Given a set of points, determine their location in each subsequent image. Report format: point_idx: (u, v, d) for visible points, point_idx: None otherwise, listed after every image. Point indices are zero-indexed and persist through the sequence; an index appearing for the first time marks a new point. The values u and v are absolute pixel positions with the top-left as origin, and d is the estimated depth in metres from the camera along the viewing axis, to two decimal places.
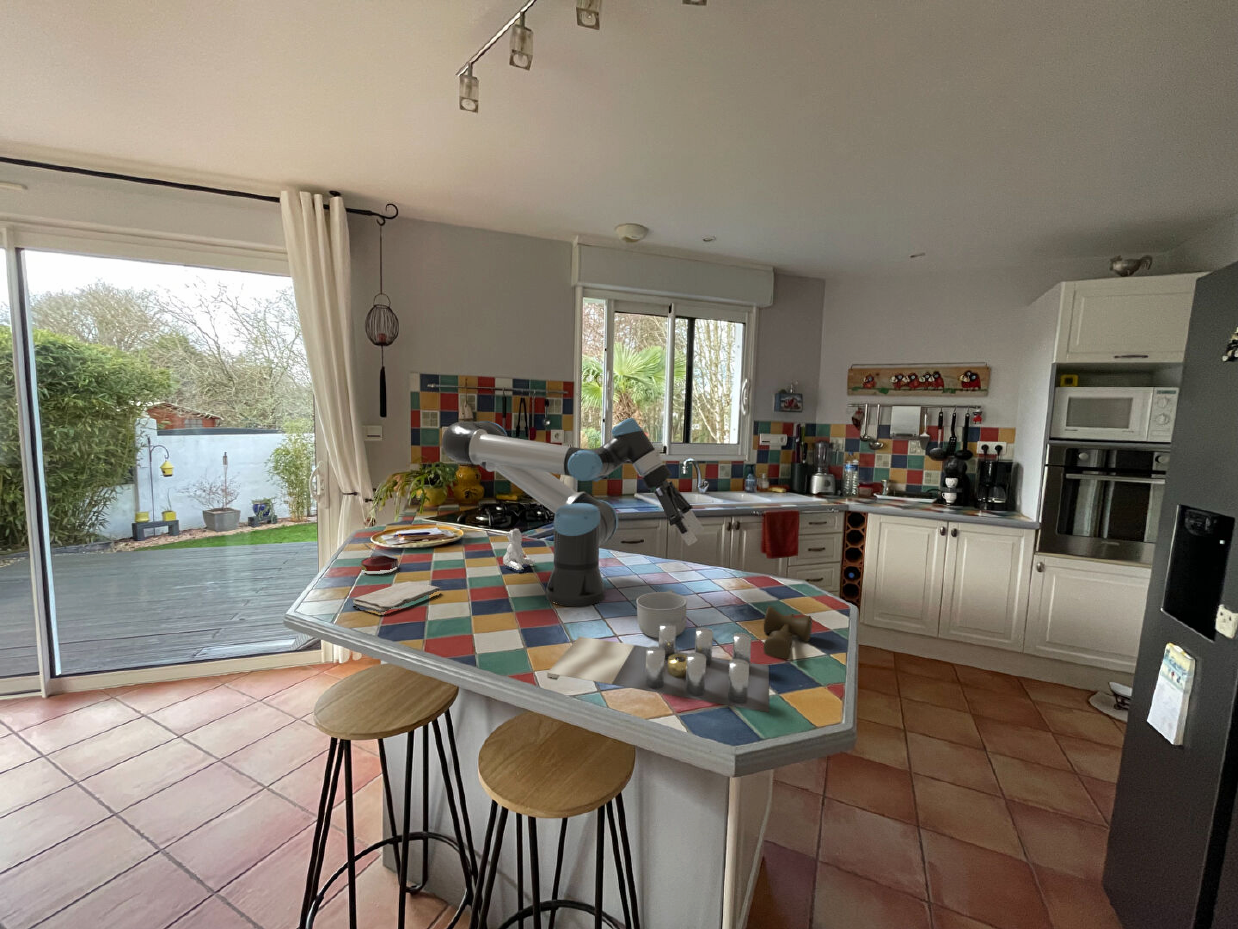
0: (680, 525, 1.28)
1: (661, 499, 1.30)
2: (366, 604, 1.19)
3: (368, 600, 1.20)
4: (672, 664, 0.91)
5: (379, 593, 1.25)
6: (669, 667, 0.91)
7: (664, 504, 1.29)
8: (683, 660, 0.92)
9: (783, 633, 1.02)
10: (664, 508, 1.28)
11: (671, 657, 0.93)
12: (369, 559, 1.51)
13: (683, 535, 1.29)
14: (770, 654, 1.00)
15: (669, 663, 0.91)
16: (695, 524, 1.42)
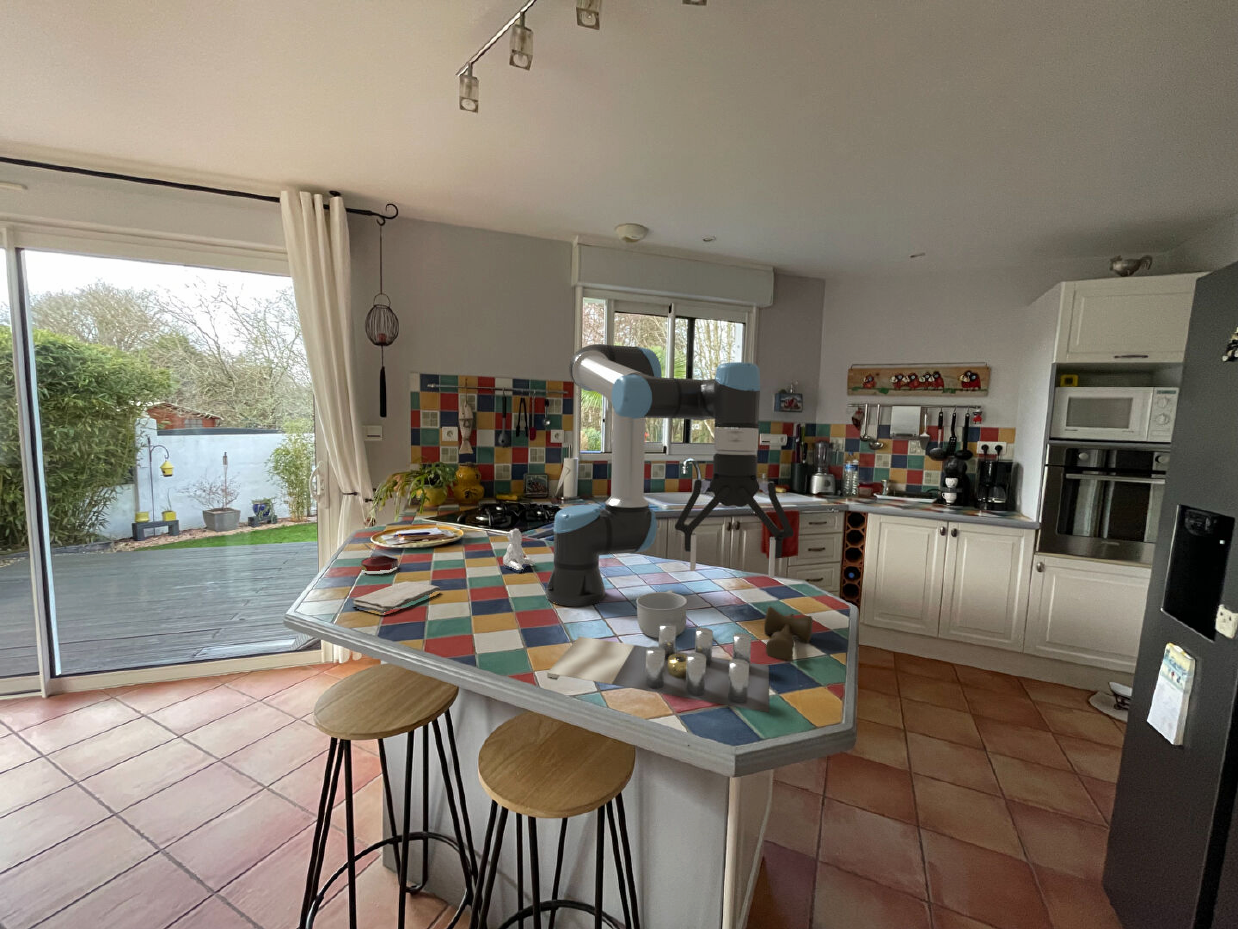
0: (685, 538, 0.92)
1: None
2: (367, 604, 1.19)
3: (369, 600, 1.20)
4: (673, 664, 0.91)
5: (379, 593, 1.24)
6: (669, 667, 0.91)
7: None
8: (683, 660, 0.92)
9: (785, 634, 1.02)
10: None
11: (671, 657, 0.93)
12: (369, 559, 1.51)
13: None
14: (772, 655, 0.99)
15: (669, 663, 0.91)
16: (769, 562, 0.88)
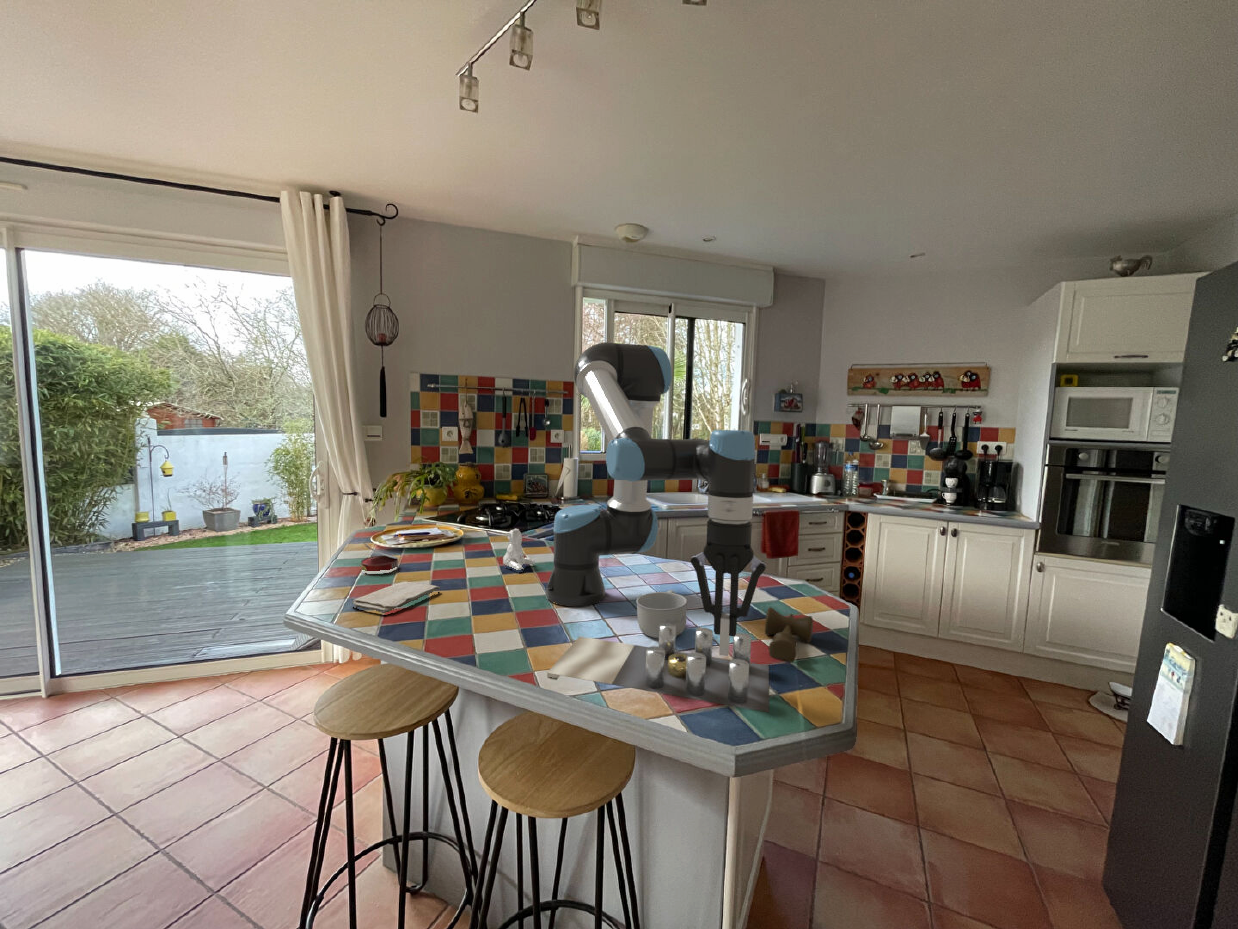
0: None
1: None
2: (368, 605, 1.18)
3: (369, 601, 1.19)
4: (673, 664, 0.90)
5: (378, 593, 1.24)
6: (670, 667, 0.91)
7: None
8: (684, 660, 0.92)
9: (787, 635, 1.01)
10: None
11: (671, 657, 0.93)
12: (369, 559, 1.51)
13: None
14: (776, 656, 0.99)
15: (670, 663, 0.91)
16: None
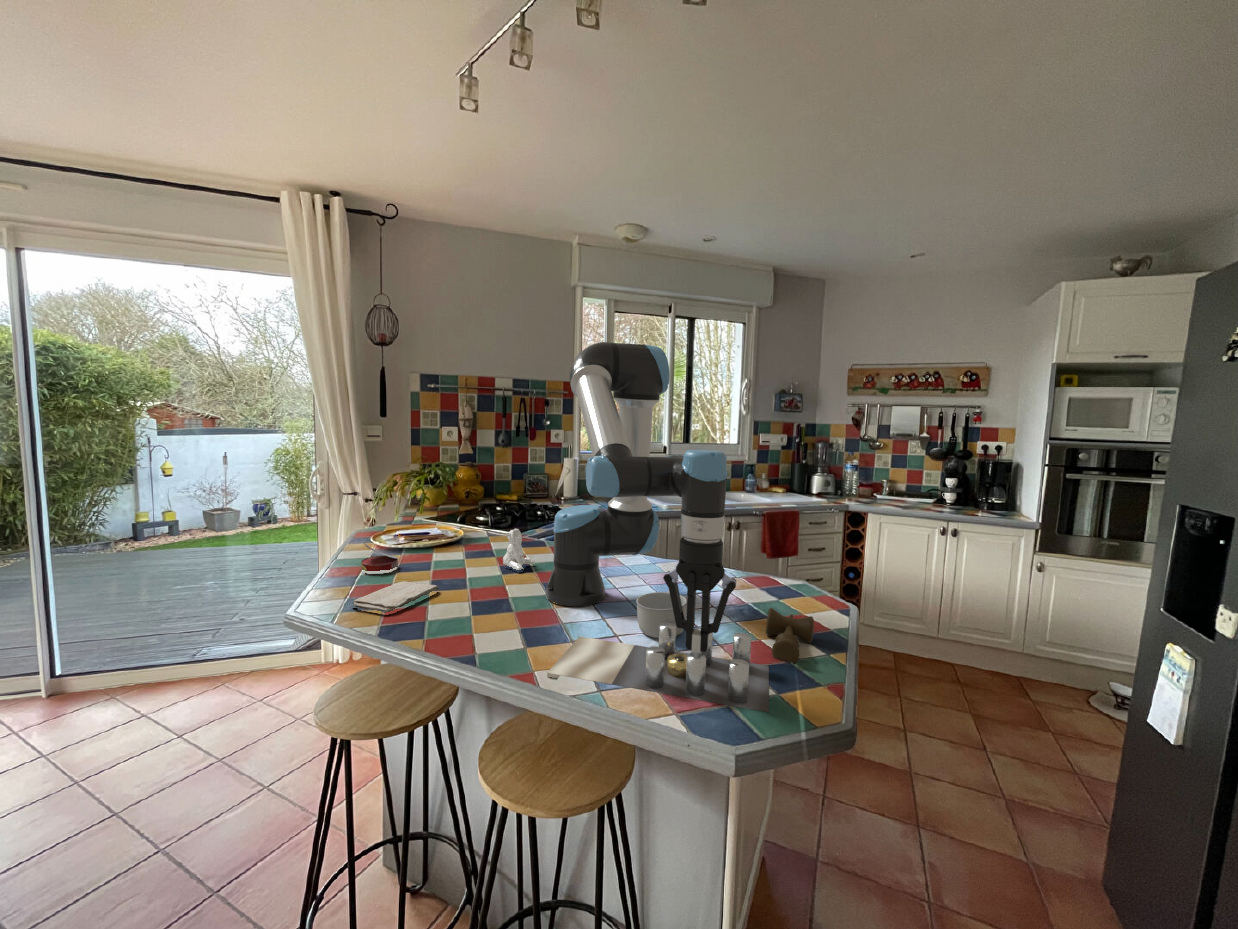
0: None
1: None
2: (369, 605, 1.18)
3: (370, 601, 1.19)
4: (673, 664, 0.90)
5: (378, 594, 1.24)
6: (670, 668, 0.91)
7: None
8: (683, 659, 0.92)
9: (790, 635, 1.01)
10: None
11: (670, 657, 0.93)
12: (369, 559, 1.51)
13: None
14: (779, 657, 0.98)
15: (670, 664, 0.91)
16: None
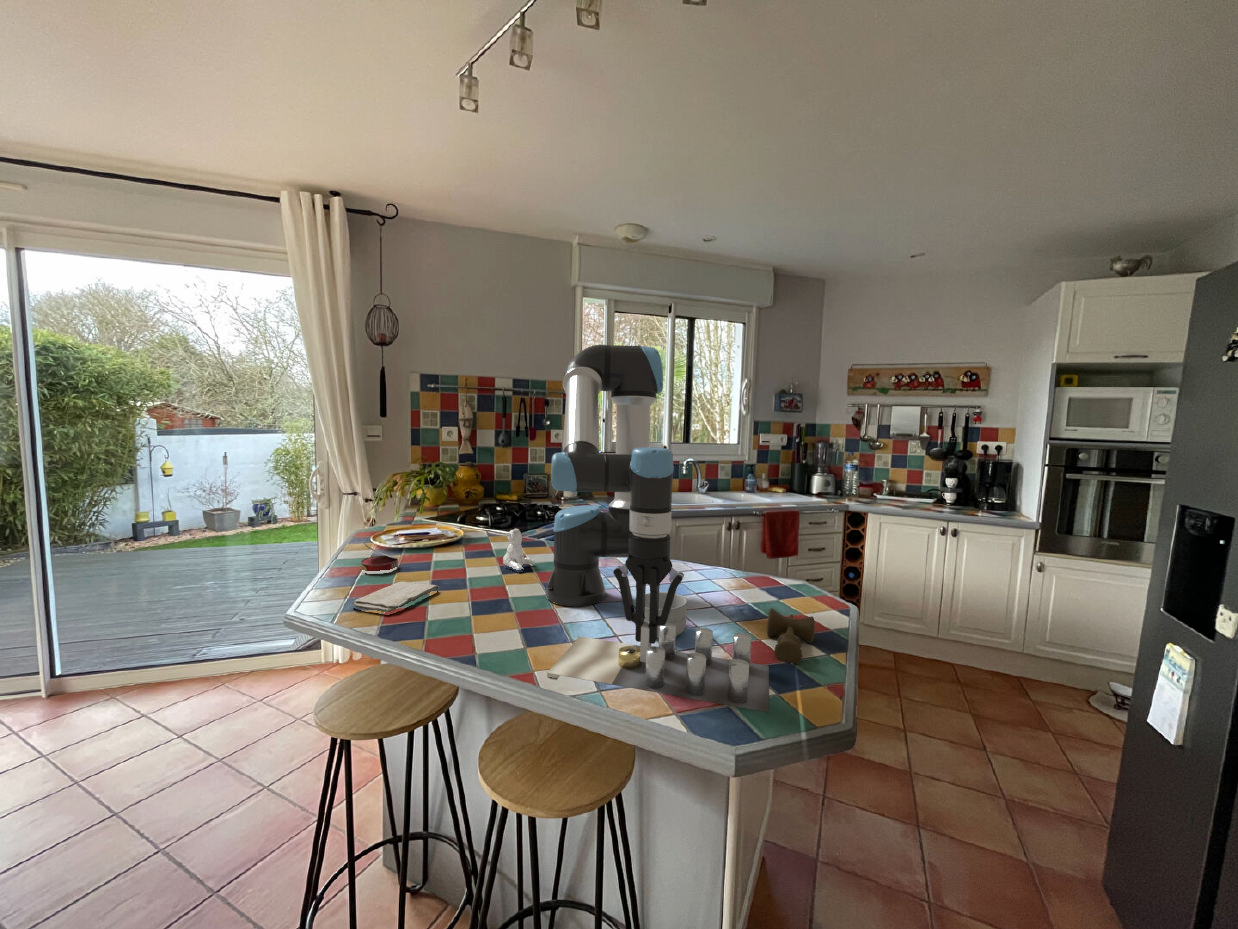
0: None
1: None
2: (370, 605, 1.18)
3: (371, 601, 1.19)
4: (623, 656, 0.93)
5: (378, 594, 1.24)
6: (620, 659, 0.94)
7: None
8: (633, 651, 0.94)
9: (792, 636, 1.01)
10: None
11: (621, 649, 0.95)
12: (369, 559, 1.51)
13: None
14: (782, 658, 0.98)
15: (620, 655, 0.94)
16: None
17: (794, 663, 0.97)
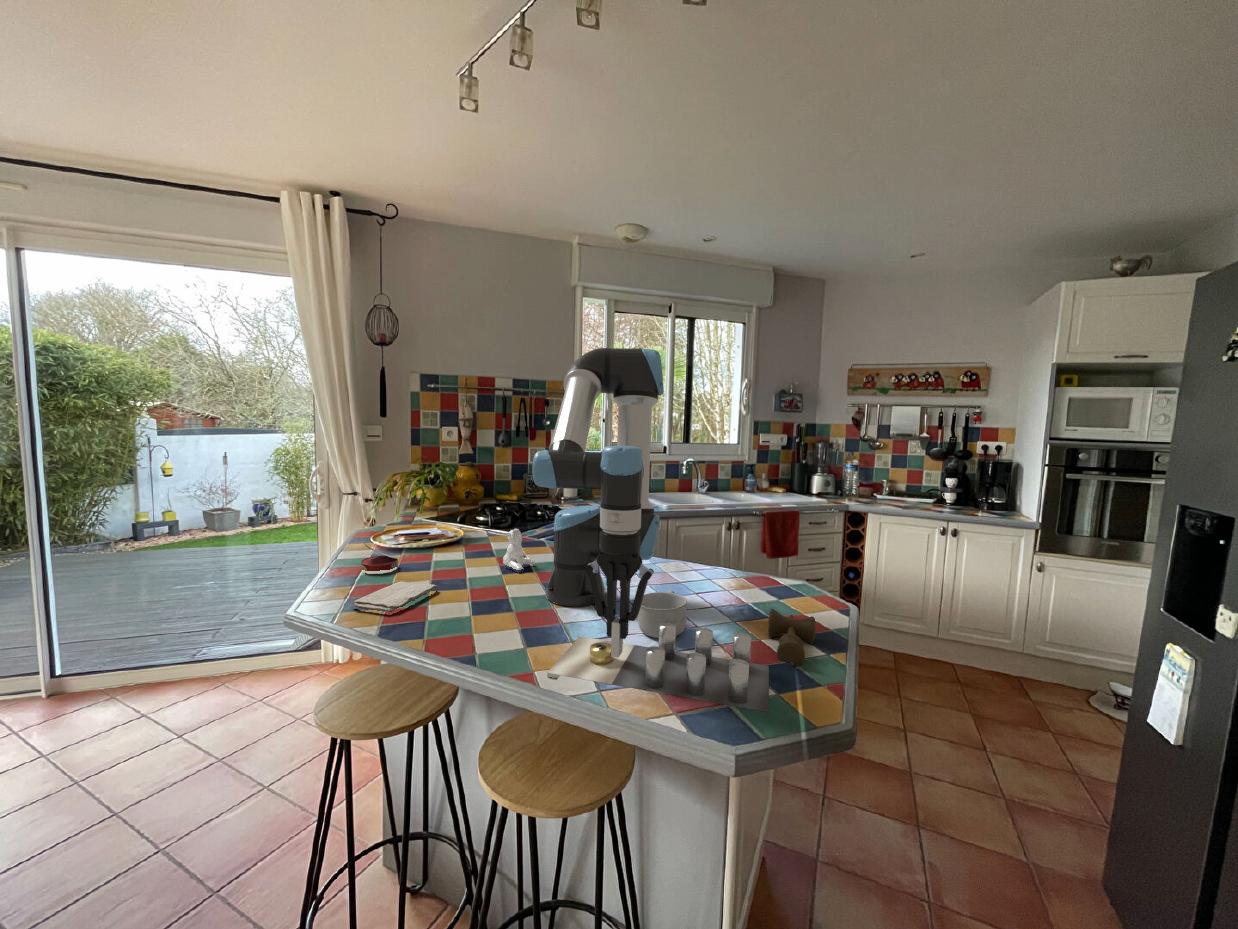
0: None
1: None
2: (370, 605, 1.18)
3: (371, 601, 1.19)
4: (594, 652, 0.94)
5: (378, 594, 1.24)
6: (591, 656, 0.95)
7: None
8: (604, 648, 0.96)
9: (794, 637, 1.01)
10: None
11: (592, 646, 0.96)
12: (369, 559, 1.51)
13: None
14: (784, 659, 0.98)
15: (591, 652, 0.95)
16: None
17: (797, 664, 0.97)
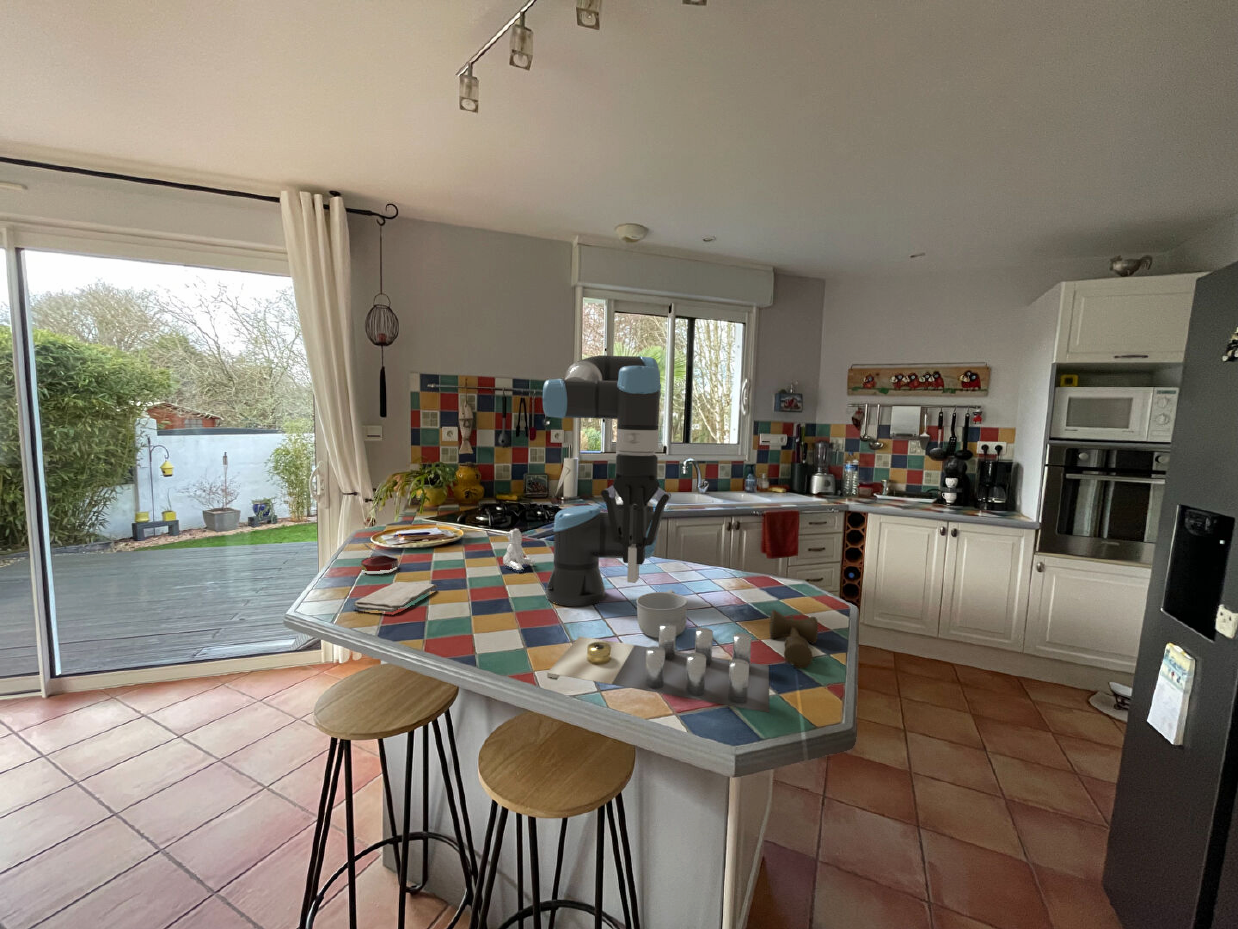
0: None
1: None
2: (372, 606, 1.18)
3: (372, 602, 1.19)
4: (592, 652, 0.94)
5: (378, 594, 1.23)
6: (589, 655, 0.95)
7: None
8: (602, 647, 0.96)
9: (800, 638, 1.00)
10: None
11: (590, 646, 0.96)
12: (369, 559, 1.51)
13: None
14: (792, 661, 0.97)
15: (589, 652, 0.95)
16: None
17: (804, 665, 0.96)
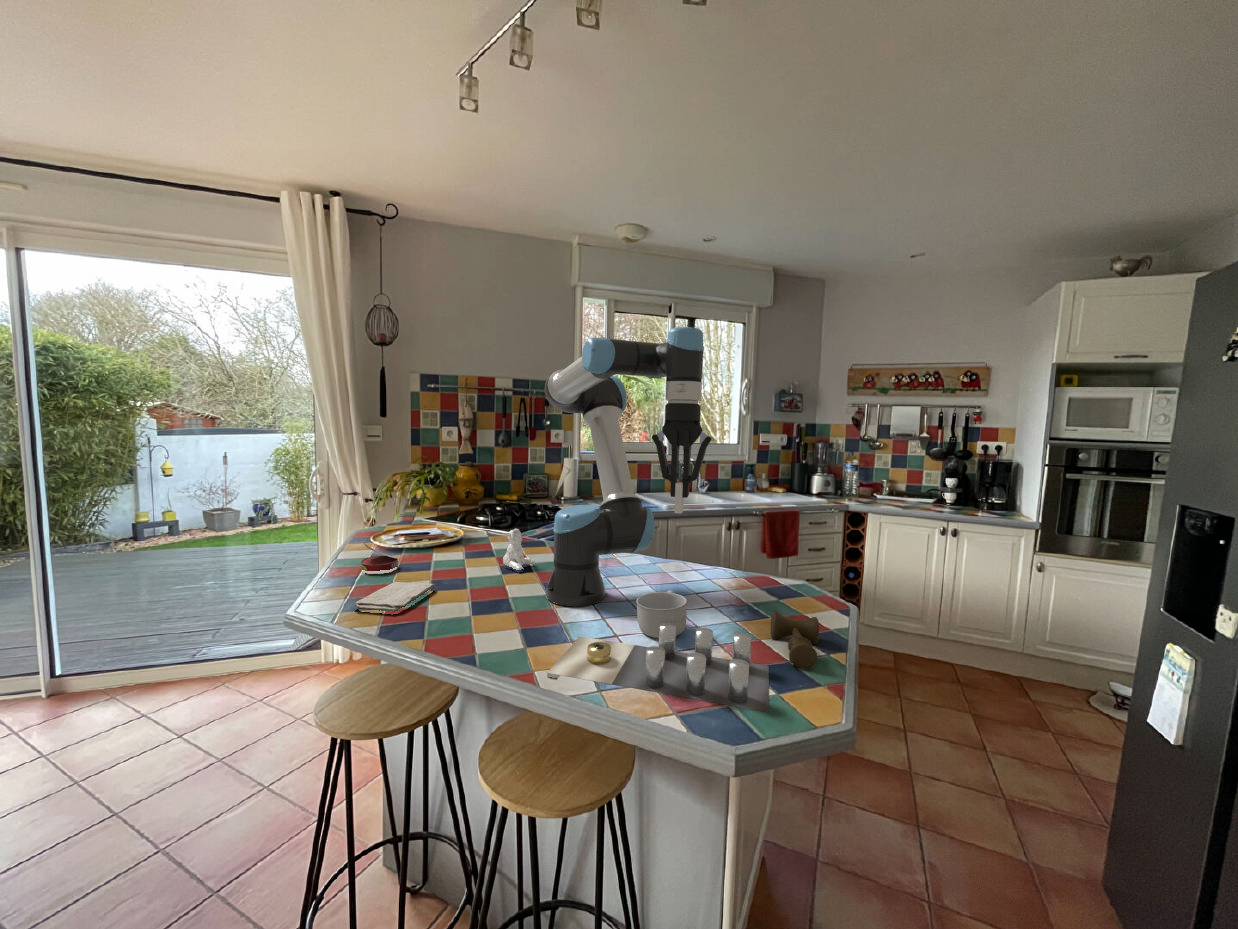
0: None
1: None
2: (373, 606, 1.18)
3: (373, 602, 1.19)
4: (592, 652, 0.94)
5: (378, 595, 1.23)
6: (589, 655, 0.95)
7: None
8: (602, 647, 0.96)
9: (804, 639, 1.00)
10: None
11: (590, 646, 0.96)
12: (369, 559, 1.51)
13: None
14: (797, 662, 0.96)
15: (589, 652, 0.95)
16: None
17: (809, 666, 0.96)
